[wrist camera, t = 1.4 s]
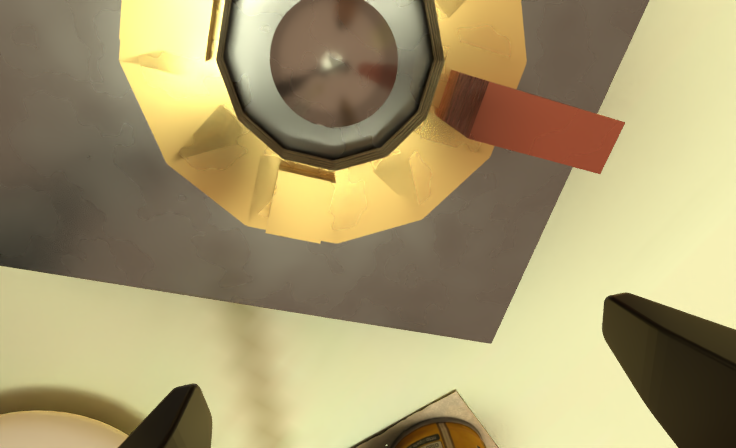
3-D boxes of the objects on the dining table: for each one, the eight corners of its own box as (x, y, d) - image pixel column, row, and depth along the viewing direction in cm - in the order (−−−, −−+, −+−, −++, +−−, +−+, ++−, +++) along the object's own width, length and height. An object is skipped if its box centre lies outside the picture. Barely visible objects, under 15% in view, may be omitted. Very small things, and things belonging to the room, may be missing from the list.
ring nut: (123, 185, 17) (59, 243, 13) (159, -249, 12) (78, -400, 8) (478, 258, 20) (527, 324, 16) (611, -65, 16) (733, -100, 11)
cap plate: (15, 247, 19) (-52, 299, 16) (7, -518, 11) (-131, -769, 8) (480, 325, 24) (511, 378, 21) (701, -174, 16) (815, -231, 13)
